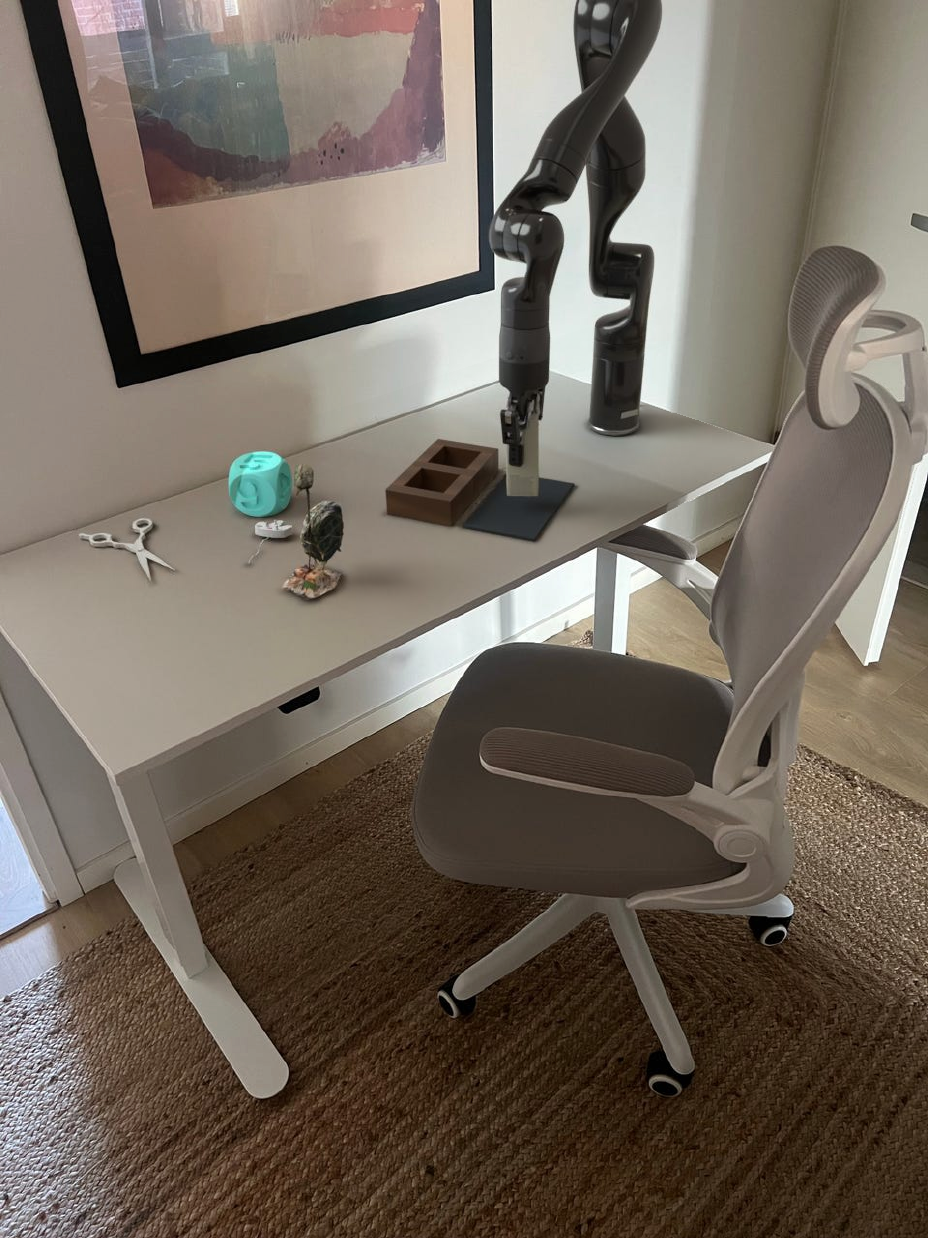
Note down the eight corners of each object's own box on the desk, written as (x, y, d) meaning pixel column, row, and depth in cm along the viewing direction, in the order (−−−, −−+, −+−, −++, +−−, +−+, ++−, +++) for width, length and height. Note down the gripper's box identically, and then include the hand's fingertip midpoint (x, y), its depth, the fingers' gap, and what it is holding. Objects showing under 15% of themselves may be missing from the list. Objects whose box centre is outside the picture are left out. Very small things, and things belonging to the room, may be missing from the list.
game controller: (294, 526, 157) (292, 511, 155) (286, 564, 148) (284, 549, 146) (258, 527, 157) (256, 512, 155) (248, 565, 147) (246, 550, 146)
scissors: (143, 513, 160) (197, 561, 147) (143, 517, 160) (198, 566, 147) (78, 534, 154) (128, 586, 141) (79, 538, 155) (130, 591, 142)
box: (538, 485, 160) (540, 410, 153) (537, 498, 156) (539, 421, 149) (506, 484, 160) (506, 409, 153) (504, 497, 157) (504, 421, 150)
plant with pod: (366, 576, 144) (355, 450, 133) (304, 607, 138) (287, 478, 126) (331, 556, 149) (317, 433, 138) (269, 586, 143) (250, 459, 131)
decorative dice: (294, 495, 166) (288, 452, 161) (280, 518, 159) (273, 473, 155) (248, 493, 167) (241, 449, 162) (232, 516, 160) (224, 471, 156)
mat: (507, 474, 171) (507, 471, 170) (574, 485, 167) (574, 483, 166) (462, 527, 156) (462, 525, 155) (534, 541, 152) (534, 538, 151)
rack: (438, 461, 175) (437, 438, 173) (498, 472, 172) (498, 448, 169) (386, 514, 160) (385, 489, 157) (451, 526, 156) (450, 501, 153)
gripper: (532, 372, 139) (529, 481, 148) (563, 339, 150) (559, 443, 159) (482, 365, 141) (483, 473, 151) (517, 334, 152) (515, 436, 162)
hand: (522, 457), depth 155 cm, fingers closed on box, 5 cm apart
